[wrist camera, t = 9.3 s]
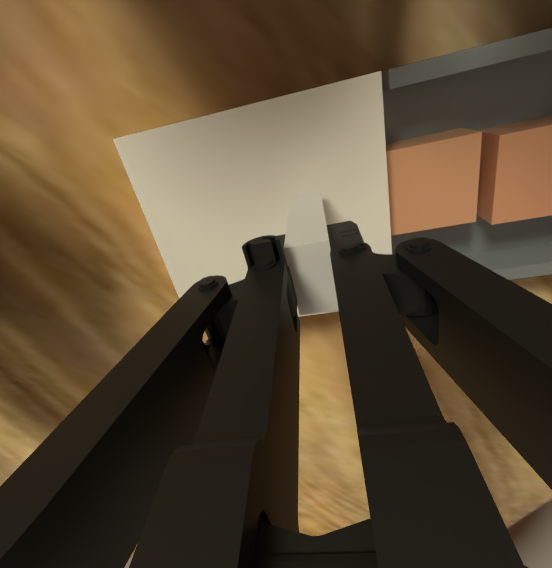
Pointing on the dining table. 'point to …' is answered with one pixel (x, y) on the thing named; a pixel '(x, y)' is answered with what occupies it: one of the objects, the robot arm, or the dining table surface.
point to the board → (261, 175)
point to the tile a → (433, 180)
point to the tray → (476, 115)
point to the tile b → (516, 171)
